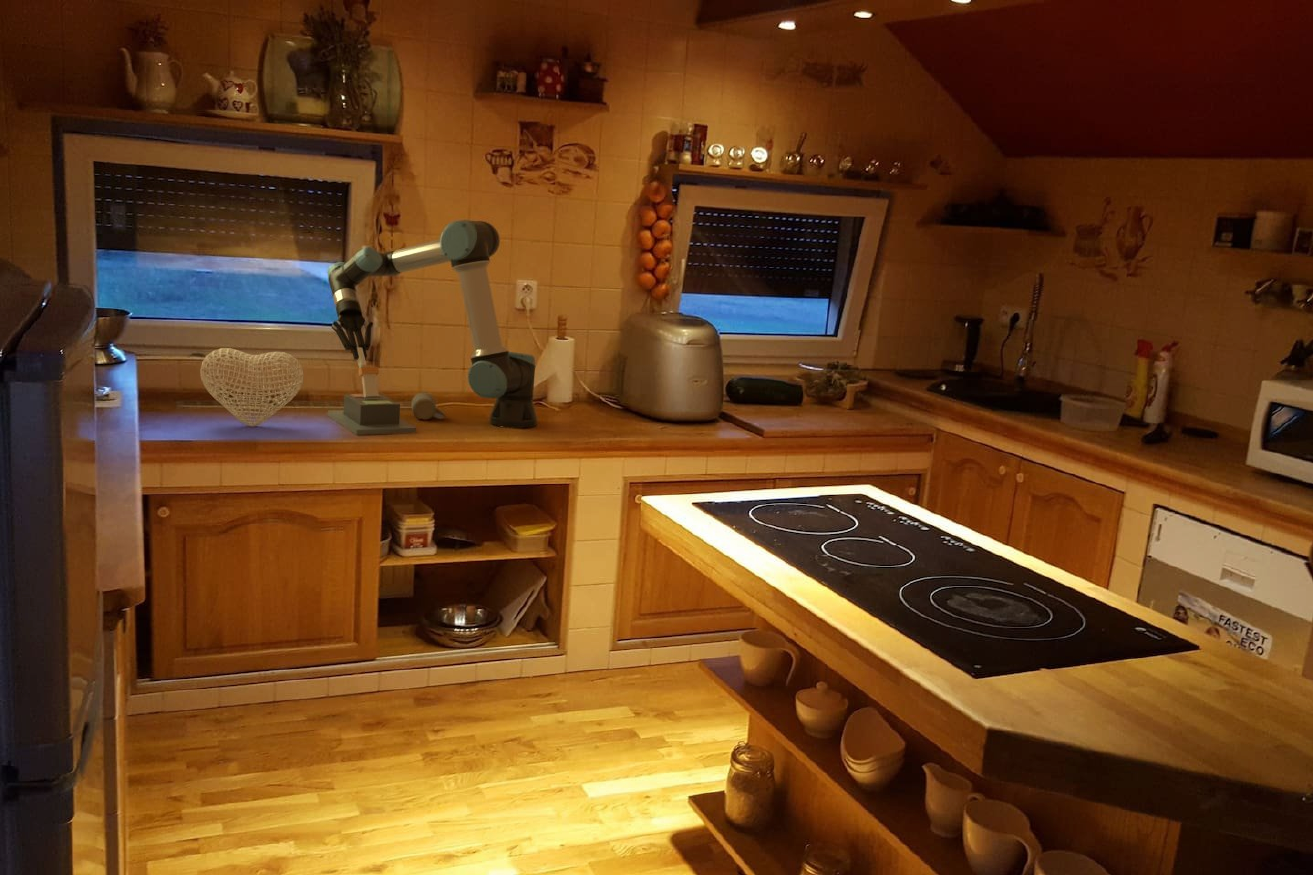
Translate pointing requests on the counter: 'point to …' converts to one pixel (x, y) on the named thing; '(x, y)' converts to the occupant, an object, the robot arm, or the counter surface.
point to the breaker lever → (369, 381)
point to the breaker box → (371, 415)
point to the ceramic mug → (425, 407)
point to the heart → (248, 356)
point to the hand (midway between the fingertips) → (363, 367)
